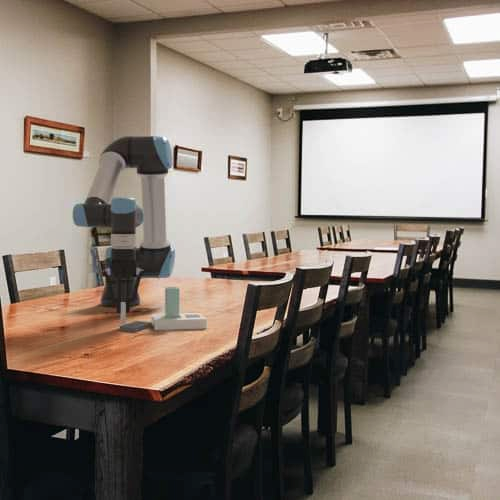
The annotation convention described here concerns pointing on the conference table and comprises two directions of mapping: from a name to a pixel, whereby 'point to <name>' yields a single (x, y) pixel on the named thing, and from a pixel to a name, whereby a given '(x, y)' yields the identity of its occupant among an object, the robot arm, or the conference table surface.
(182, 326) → the outlet board
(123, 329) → the phone
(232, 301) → the conference table surface
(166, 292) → the pale green block
